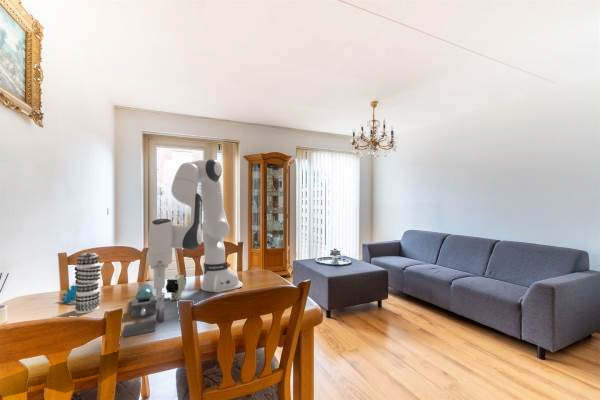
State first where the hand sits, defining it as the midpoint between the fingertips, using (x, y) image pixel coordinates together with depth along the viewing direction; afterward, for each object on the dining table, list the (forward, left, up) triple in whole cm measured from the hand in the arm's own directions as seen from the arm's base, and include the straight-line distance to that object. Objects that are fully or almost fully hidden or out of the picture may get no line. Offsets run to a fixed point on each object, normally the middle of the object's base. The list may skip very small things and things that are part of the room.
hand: (158, 293), depth 110 cm
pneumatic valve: (-9, -23, -11) cm, 27 cm away
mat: (+6, +4, -11) cm, 13 cm away
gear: (+35, -42, -12) cm, 56 cm away
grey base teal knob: (+5, -17, -11) cm, 21 cm away
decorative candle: (+27, -27, -11) cm, 40 cm away
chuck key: (-1, 0, -11) cm, 11 cm away
